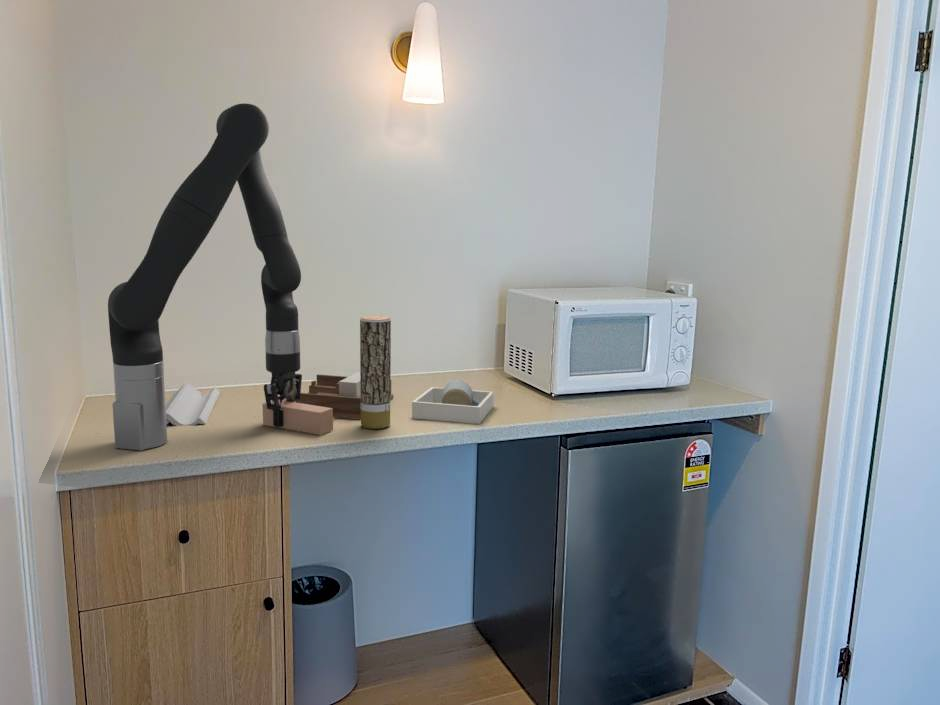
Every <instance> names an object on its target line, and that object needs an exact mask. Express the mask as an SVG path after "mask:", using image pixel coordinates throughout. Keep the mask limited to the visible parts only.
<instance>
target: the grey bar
mask: <svg viewBox="0 0 940 705" xmlns="http://www.w3.org/2000/svg"><path fill="white" fill-rule="evenodd" d="M346 377H347V378H345V379H343V380H341V381H339V396H346V397H359V398H360V370H359V371H357V372H354V373H353V374H351V375H349V376H346Z"/></svg>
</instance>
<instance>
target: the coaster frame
mask: <svg viewBox="0 0 940 705" xmlns="http://www.w3.org/2000/svg"><path fill="white" fill-rule="evenodd" d="M443 389H444V387H436V386H435V387H434V386H431V387H429V388H428V389H427V390H426V391H424V392H423V393H422V394H421V395H419V396H418V397H417V398H416V399H414V400H413V401H411V419H417V420H418V419H419V420H430V421H432V420H433V421H440V420H441V421H442V422H451V421H454V422H455V423H463V422H469V423H468V424H475V423H478V425H480V424H482V422H483V420H484V419H485V418H486V417H487V415H488V414H490V412H491V411H492V409H494V404H495V402H494V401H495V400H494V399H495V398H494V397H495V392H494V391H488V390H487V391H486V390H475V389H474V390H473V389H472V392H473V400H475V401H477V402H478V403H480V404H479V405H478V406H472V405H471V406H467V405H455V404H443V403H442V401H441V400H442V394H443ZM481 421H482V422H481Z"/></svg>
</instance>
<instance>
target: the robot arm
mask: <svg viewBox="0 0 940 705" xmlns="http://www.w3.org/2000/svg"><path fill="white" fill-rule="evenodd" d="M215 128H216V135H217V136H216V137H215V140H214V141H213V144H212V145H211V146H210V149H209V151H208V153H206V156H204V158H203V159H202V161H201V162H200V163H199V164H197V166H195V168H194V169H193V170H192V171H191V172H190V174H189V175H188V176H187V177H186V178H185V179H184V181H183V182H182V183H181V184H180V186H179V187H178V188H177V190H176V191H175V192H174V193H173V196H172V197H171V198H170V200H169V202H168V204H167V205H166V207H165V209H164V210H163V212H162V214H161V215H160V219H159V220H158V222H157V225H156V228H155V229H154V232H153V235H152V237H151V240H150V243H149V246H148V248H147V251H146V254H145V255H144V257H143V259H142V260H141V262H140V264H138V266H137V268H136V269H135V271H134V272H132V274H131V276H130V277H129V278H128V280H127V281H125V282H122V283H120V284H118V285H116V286H115V287H114V288H113V289H112V290H111V292H110V294H109V296H108V299H107V312H108V328H109V329H108V330H109V336H110V337H109V340H110V341H109V342H110V347H111V354H112V367H113V380H114V381H113V382H114V395H115V396H114V397H115V401H113V402H112V417H113V418H112V419H113V433H114V448H115V449H122V450H123V449H124V450H130V451H144V450H148V449H151V448H152V449H153V448H156V447H160V446H163V445H165V444H167V442H168V435H167V434H168V429H167V426H168V424H166V407H165V406H166V391H165V390H166V389H165V373H164V354H163V353H164V352H163V350H164V349H163V346H162V342H161V335H160V324H159V322H160V321H159V320H160V317H161V316H162V314H163V312H164V310H165V307H166V305H167V303H168V300H169V298H170V296H171V294H172V292H173V289H174V287H175V285H176V283H177V282H178V279H179V277H180V276H181V275H182V273H183V271H184V269H185V268H186V267H187V266H188V264H189V263H190V262H191V260H192V259H193V257H194V256H195V255H196V253H197V251H198V250H199V249H200V247H201V245H202V244H203V242H204V241H205V239H206V238H207V237H208V235H209V233H210V232H211V230H212V228H213V227H214V225H215V223H216V222H217V220H218V218H219V216H220V215H221V212H222V210H223V209H224V206H225V205H226V203H227V201H228V199H229V197H230V196H231V193H232V191H233V190H234V188H235V185H236V183H237V184H238V188H239V191H240V194H241V196H242V200H243V203H244V207H245V211H246V214H247V218H248V222H249V225H250V230H251V232H252V237H253V240H254V244H255V246H256V248H257V249H258V250H259V251H260V252H261V254H262V257H263V259H264V262H265V264H264V265H263V268H262V270H261V274H260V283H261V284H260V285H261V291H262V296H263V302H264V307H265V336H264V337H265V339H264V342H265V344H264V345H265V348H264V349H265V370H266V371H267V372H269V373H271V378H270V383H269V384H268V383H267V384H263V391H264V392H263V393H264V397H265V403H266V405H267V409H271V410H273V425H274V426H275V427H274V428H278V427H282V426H283V425H284V421H283V408H284V401H289V402H297V400H299V399H300V393H302V390H301V389H302V382H303V381H302V379H303V375H302V374H300V373H296V372H298V371H299V370H301V339H300V332H299V309H298V307H297V306H296V303H295V302H294V297H293V295H294V294H293V292H294V291H296V290H298V288H299V286H300V284H301V281H302V272H301V267H300V264H299V261H298V259H297V256H296V254H295V252H294V249H293V247H292V245H291V244H290V241H289V238H288V233H287V229H286V225H285V222H284V218H283V214H282V210H281V207H280V205H279V202H278V200H277V197H276V196H275V193H274V192H273V189H272V187H271V185H270V182H269V179H267V174H266V173H265V169H264V166H263V162H262V161H263V160H262V158H261V156H262V155H261V152H260V151H261V148H262V147H263V145H264V144H265V143H266V141H267V139H268V136H269V132H270V130H269V129H270V124H269V120H268V117H267V116H266V113H265V112H264V110H262V109H261V108H260V107H258V106H257V105H255V104H252V103H238V104H233V105H232V106H230V107H228V108H226V109H224V110H223V111H222V112H221V113H220V114H219V115H218V118H217V120H216V127H215ZM280 395H282V396H281V397H280ZM279 400H280V405H279ZM271 401H272V404H271Z"/></svg>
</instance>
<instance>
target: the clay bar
mask: <svg viewBox="0 0 940 705" xmlns="http://www.w3.org/2000/svg"><path fill="white" fill-rule="evenodd" d="M271 404H272V401H271ZM279 405H280V400H279ZM283 421H284V425H283V426H282V427H277V429H278V428H280V429H284V428H285V429H284V430H290V429H291V431H295V430H296V432H301V431H302V432H303V433H307V432H308V433H307V434H312V433H313V434H314V435H318V434H319V436H322V435H324V434H327V433H330V432H332V431H333V430H334V417H333V408H328V407H321V406H315V405H309V404H302V403H296V402H289V401H284V408H283ZM262 425H263V426H268V427H274V428H276V427H275V426H274V425H273V410H271V409H267V405H266V402H263V403H262ZM331 430H332V431H331ZM321 434H322V435H321Z"/></svg>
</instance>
